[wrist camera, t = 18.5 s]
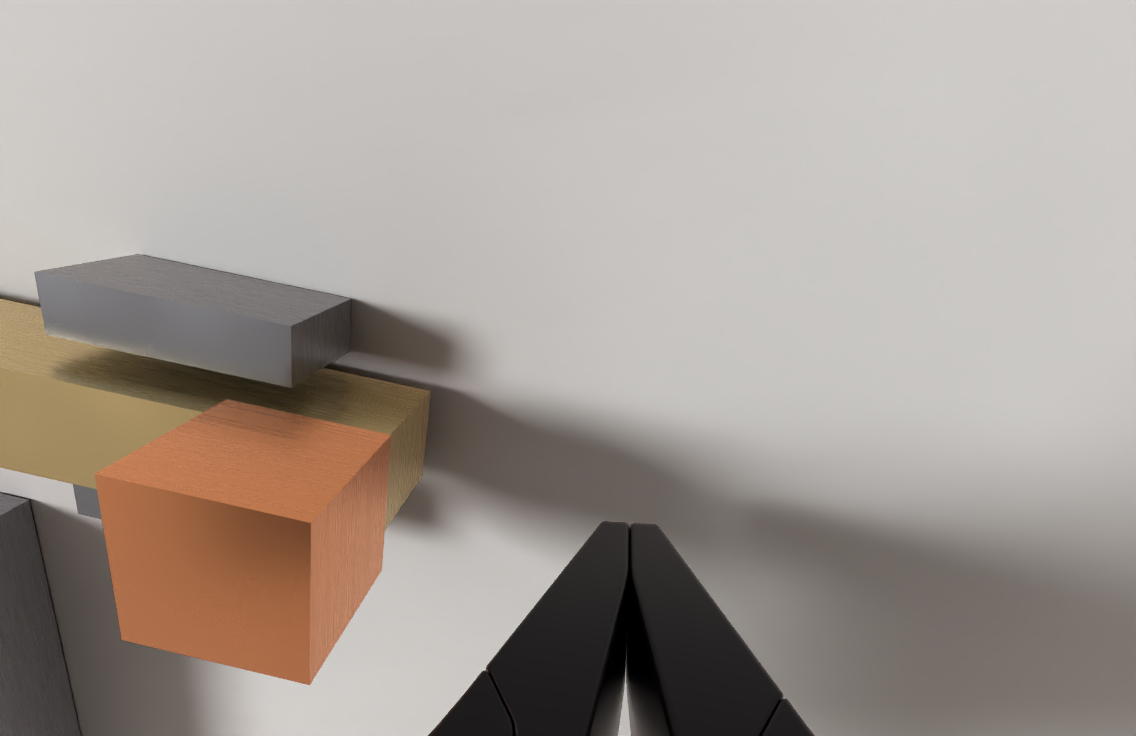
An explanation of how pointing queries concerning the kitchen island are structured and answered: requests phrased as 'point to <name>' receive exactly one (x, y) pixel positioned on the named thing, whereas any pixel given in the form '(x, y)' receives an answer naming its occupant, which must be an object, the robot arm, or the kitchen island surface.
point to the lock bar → (218, 489)
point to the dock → (162, 331)
